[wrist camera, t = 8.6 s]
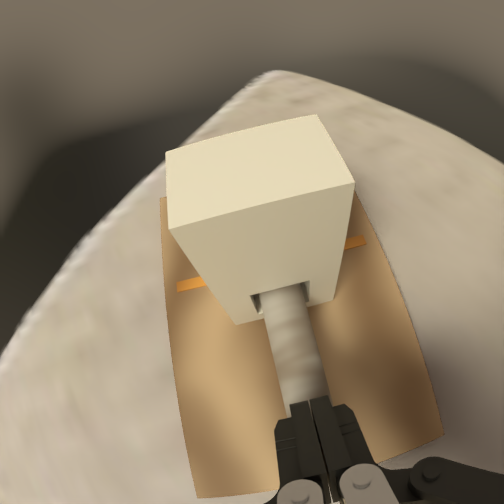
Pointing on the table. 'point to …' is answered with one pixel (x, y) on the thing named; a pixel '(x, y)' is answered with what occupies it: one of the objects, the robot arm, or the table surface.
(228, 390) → the pipe stand
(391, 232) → the table surface
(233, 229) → the sleeve
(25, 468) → the table surface
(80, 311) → the table surface
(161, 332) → the table surface
